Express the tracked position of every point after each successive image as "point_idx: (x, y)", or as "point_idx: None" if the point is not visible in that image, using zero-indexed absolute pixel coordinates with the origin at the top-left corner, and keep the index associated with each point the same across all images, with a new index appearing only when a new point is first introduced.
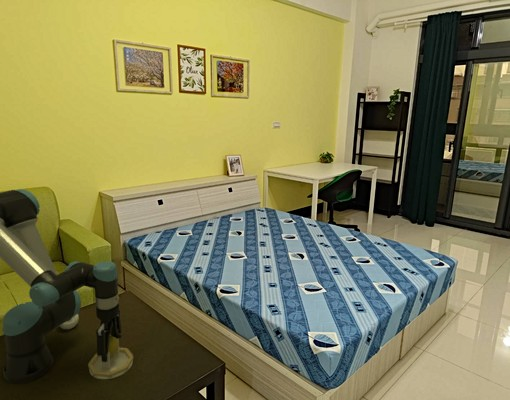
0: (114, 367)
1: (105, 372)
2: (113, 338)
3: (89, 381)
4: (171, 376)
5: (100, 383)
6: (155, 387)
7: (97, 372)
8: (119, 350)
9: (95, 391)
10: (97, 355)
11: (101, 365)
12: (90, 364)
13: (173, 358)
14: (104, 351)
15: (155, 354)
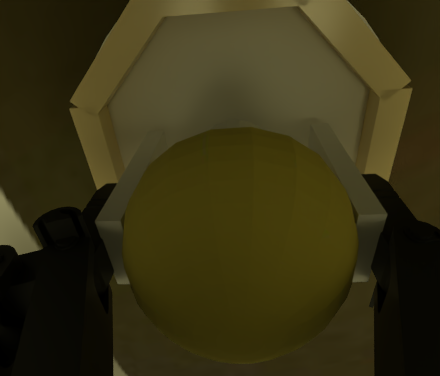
0: None
1: (111, 179)
2: (262, 360)
3: (49, 77)
4: (212, 370)
5: (69, 155)
6: (145, 347)
7: (88, 128)
8: (363, 157)
9: (8, 159)
10: (279, 4)
11: (195, 90)
12: (145, 10)
13: (314, 360)
14: (4, 352)
15: (343, 306)
